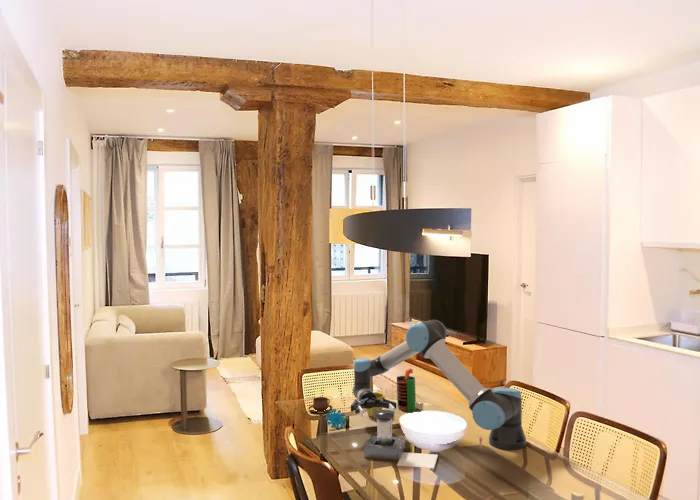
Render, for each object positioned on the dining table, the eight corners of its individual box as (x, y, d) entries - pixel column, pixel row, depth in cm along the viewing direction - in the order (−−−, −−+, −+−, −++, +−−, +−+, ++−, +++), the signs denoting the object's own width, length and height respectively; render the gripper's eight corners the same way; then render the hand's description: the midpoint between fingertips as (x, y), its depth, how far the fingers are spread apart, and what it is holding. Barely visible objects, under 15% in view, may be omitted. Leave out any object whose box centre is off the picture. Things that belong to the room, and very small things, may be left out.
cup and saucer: (316, 406, 317) (315, 394, 317) (336, 409, 312) (336, 397, 311) (304, 413, 306) (304, 400, 306) (325, 415, 301) (325, 403, 301)
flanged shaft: (396, 449, 250) (395, 410, 249) (393, 456, 242) (392, 416, 242) (377, 447, 252) (376, 409, 251) (373, 454, 244) (372, 415, 244)
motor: (393, 408, 310) (392, 369, 309) (405, 404, 316) (404, 366, 315) (408, 412, 303) (407, 372, 302) (420, 408, 309) (419, 369, 308)
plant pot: (361, 417, 297) (360, 397, 297) (367, 411, 307) (366, 391, 306) (381, 418, 294) (381, 398, 293) (387, 412, 303) (386, 393, 303)
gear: (327, 427, 277) (325, 407, 284) (324, 433, 281) (321, 414, 288) (350, 427, 281) (347, 408, 288) (346, 434, 285) (343, 414, 291)
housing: (404, 449, 252) (404, 437, 252) (399, 462, 239) (399, 449, 238) (371, 447, 256) (371, 435, 255) (364, 459, 242) (364, 447, 242)
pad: (437, 457, 243) (437, 454, 243) (433, 470, 229) (433, 468, 229) (402, 454, 246) (402, 452, 246) (396, 468, 233) (396, 465, 233)
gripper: (393, 404, 280) (406, 419, 259) (339, 408, 275) (348, 423, 254) (393, 388, 279) (406, 401, 259) (339, 391, 275) (348, 405, 254)
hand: (378, 412), depth 256 cm, fingers open, 13 cm apart
